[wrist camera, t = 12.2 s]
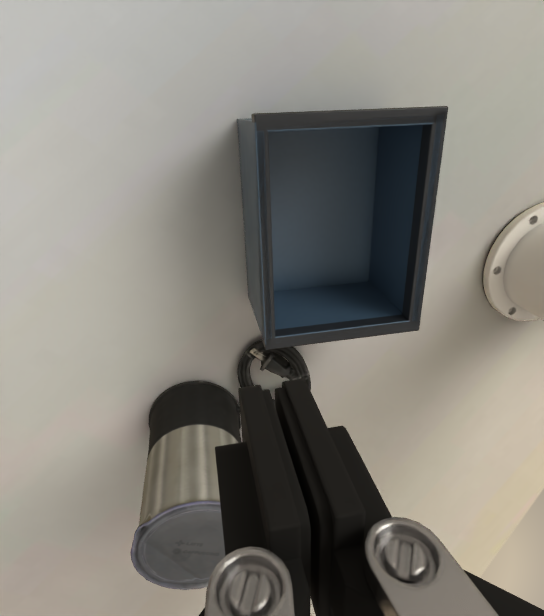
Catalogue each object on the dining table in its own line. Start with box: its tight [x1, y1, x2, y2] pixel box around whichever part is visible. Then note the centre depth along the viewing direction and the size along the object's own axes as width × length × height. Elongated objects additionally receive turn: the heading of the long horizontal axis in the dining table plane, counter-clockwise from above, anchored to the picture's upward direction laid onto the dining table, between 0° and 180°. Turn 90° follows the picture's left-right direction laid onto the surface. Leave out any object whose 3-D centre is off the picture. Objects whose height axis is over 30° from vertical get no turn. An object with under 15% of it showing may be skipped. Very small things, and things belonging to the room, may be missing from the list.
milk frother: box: [131, 340, 311, 590], centre depth 36 cm, size 14×16×15 cm
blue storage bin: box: [237, 106, 448, 350], centre depth 32 cm, size 9×16×12 cm
